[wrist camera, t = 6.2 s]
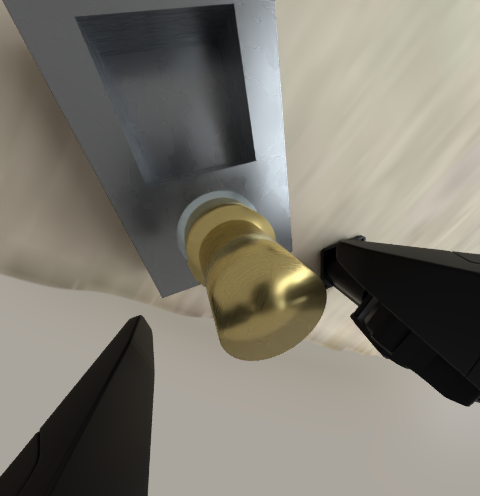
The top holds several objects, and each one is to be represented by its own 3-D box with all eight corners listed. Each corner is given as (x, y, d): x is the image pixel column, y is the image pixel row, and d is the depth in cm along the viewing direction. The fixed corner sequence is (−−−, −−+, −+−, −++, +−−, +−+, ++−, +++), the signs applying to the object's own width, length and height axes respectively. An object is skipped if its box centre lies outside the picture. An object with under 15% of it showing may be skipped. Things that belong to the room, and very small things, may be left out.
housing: (267, 231, 20) (293, 252, 16) (164, 265, 18) (162, 299, 14) (237, 17, 13) (272, -58, 8) (56, 35, 11) (-29, -52, 6)
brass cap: (261, 253, 15) (337, 335, 8) (198, 276, 14) (222, 391, 7) (250, 188, 12) (345, 226, 6) (172, 210, 12) (170, 289, 5)
